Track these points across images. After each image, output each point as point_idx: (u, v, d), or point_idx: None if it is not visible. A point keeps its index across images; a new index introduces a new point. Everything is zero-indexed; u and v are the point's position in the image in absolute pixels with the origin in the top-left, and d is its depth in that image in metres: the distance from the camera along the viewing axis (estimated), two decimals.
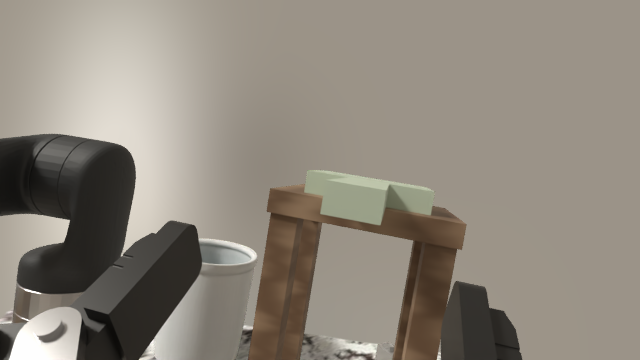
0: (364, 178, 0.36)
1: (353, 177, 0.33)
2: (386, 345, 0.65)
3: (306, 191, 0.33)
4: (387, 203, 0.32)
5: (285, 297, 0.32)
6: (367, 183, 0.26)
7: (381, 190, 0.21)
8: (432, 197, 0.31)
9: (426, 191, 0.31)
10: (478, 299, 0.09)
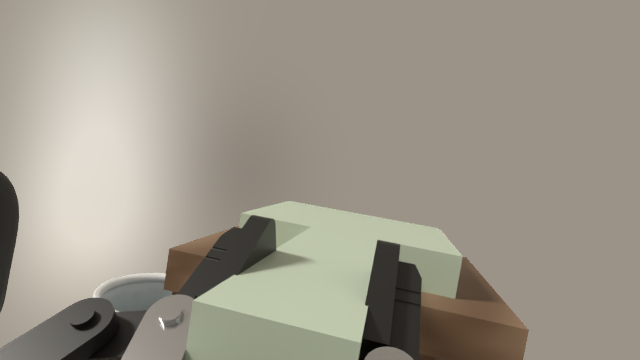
0: (341, 221, 0.22)
1: (320, 224, 0.20)
2: None
3: None
4: None
5: None
6: (330, 265, 0.12)
7: (346, 342, 0.07)
8: (458, 266, 0.17)
9: (447, 255, 0.17)
10: (391, 253, 0.10)
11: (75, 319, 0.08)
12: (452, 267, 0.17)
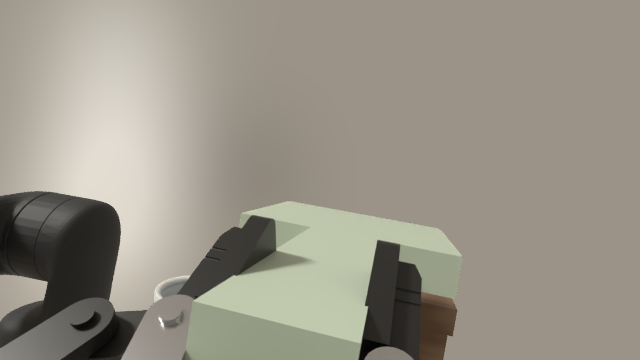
0: (341, 221, 0.22)
1: (320, 224, 0.20)
2: None
3: None
4: None
5: None
6: (330, 266, 0.12)
7: (346, 342, 0.07)
8: (458, 267, 0.17)
9: (447, 256, 0.17)
10: (391, 253, 0.10)
11: (75, 319, 0.08)
12: (452, 267, 0.17)
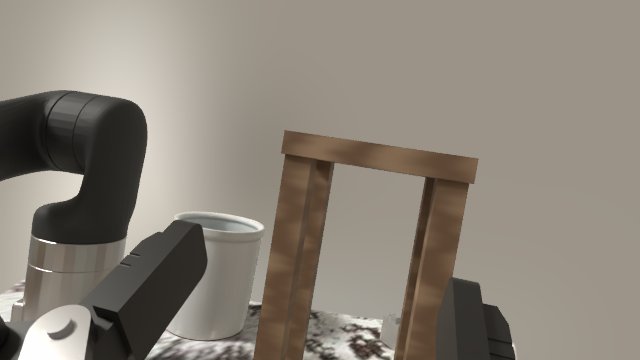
0: None
1: None
2: (392, 317, 0.65)
3: None
4: None
5: (299, 238, 0.33)
6: None
7: None
8: None
9: None
10: (472, 295, 0.09)
11: None
12: None
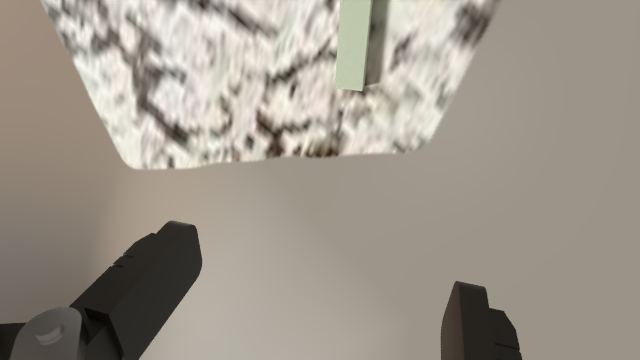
0: None
1: None
2: None
3: None
4: None
5: None
6: (354, 51, 0.45)
7: (360, 90, 0.47)
8: None
9: None
10: (478, 299, 0.09)
11: None
12: None
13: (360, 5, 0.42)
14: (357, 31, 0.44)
